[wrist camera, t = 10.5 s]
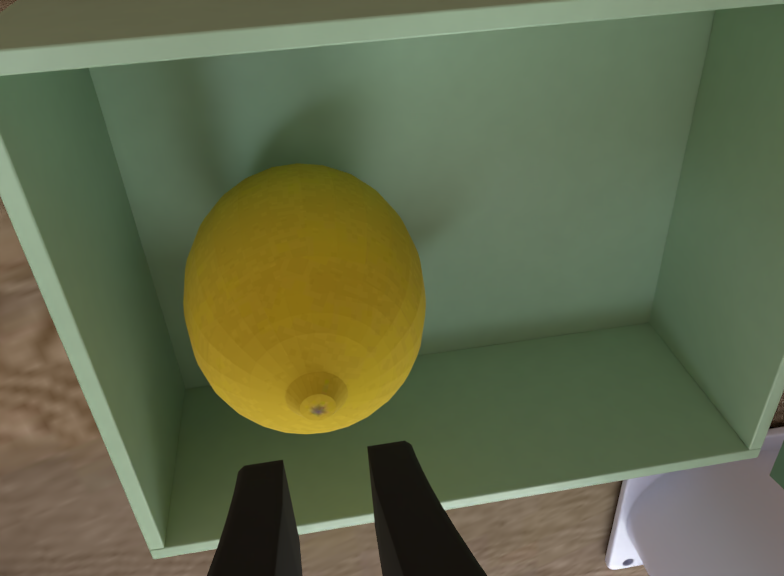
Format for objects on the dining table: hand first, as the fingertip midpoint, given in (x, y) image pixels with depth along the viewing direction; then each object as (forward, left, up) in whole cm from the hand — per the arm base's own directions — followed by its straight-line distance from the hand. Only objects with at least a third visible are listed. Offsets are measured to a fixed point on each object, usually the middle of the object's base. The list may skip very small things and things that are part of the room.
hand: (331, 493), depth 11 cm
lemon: (0, 0, -10) cm, 10 cm away
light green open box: (-4, 0, -10) cm, 11 cm away
